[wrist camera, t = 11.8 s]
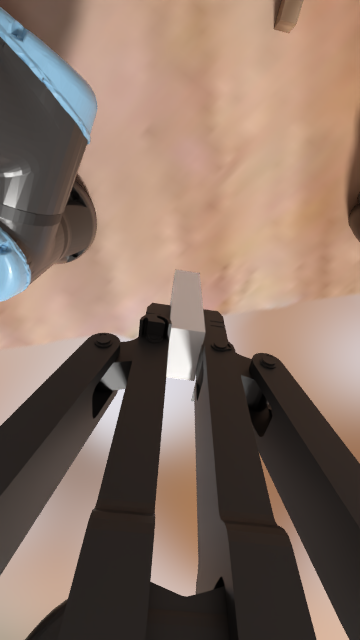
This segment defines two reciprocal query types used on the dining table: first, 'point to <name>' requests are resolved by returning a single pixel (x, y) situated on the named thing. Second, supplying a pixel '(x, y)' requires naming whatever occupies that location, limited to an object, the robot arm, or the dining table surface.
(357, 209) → the mug
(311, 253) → the dining table surface
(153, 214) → the dining table surface
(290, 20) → the channel
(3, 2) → the dining table surface
